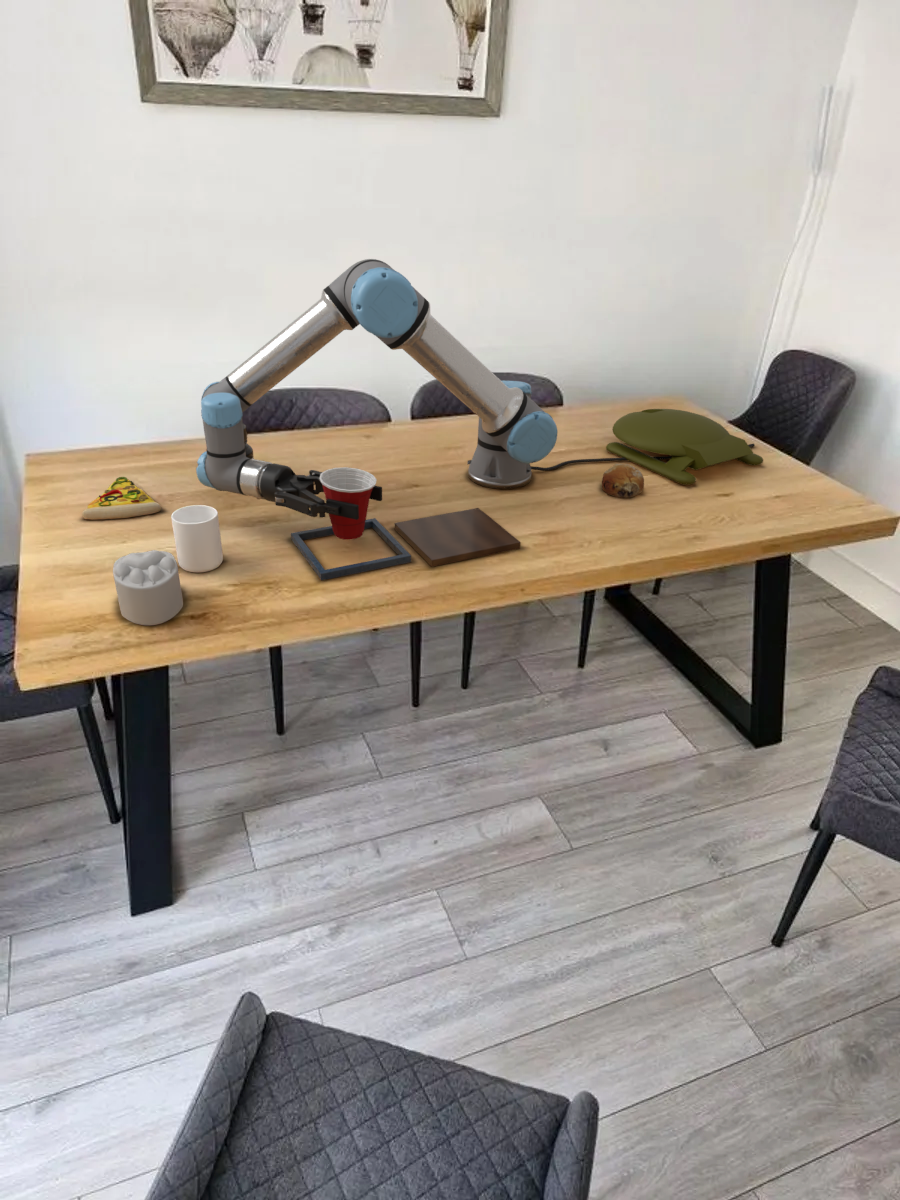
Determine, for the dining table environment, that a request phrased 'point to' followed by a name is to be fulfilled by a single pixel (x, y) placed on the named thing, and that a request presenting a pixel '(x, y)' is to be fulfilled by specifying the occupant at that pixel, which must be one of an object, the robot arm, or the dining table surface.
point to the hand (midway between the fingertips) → (369, 503)
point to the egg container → (148, 587)
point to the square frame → (353, 568)
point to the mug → (197, 538)
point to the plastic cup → (348, 497)
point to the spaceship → (677, 442)
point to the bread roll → (622, 481)
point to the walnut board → (456, 536)
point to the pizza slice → (121, 502)
